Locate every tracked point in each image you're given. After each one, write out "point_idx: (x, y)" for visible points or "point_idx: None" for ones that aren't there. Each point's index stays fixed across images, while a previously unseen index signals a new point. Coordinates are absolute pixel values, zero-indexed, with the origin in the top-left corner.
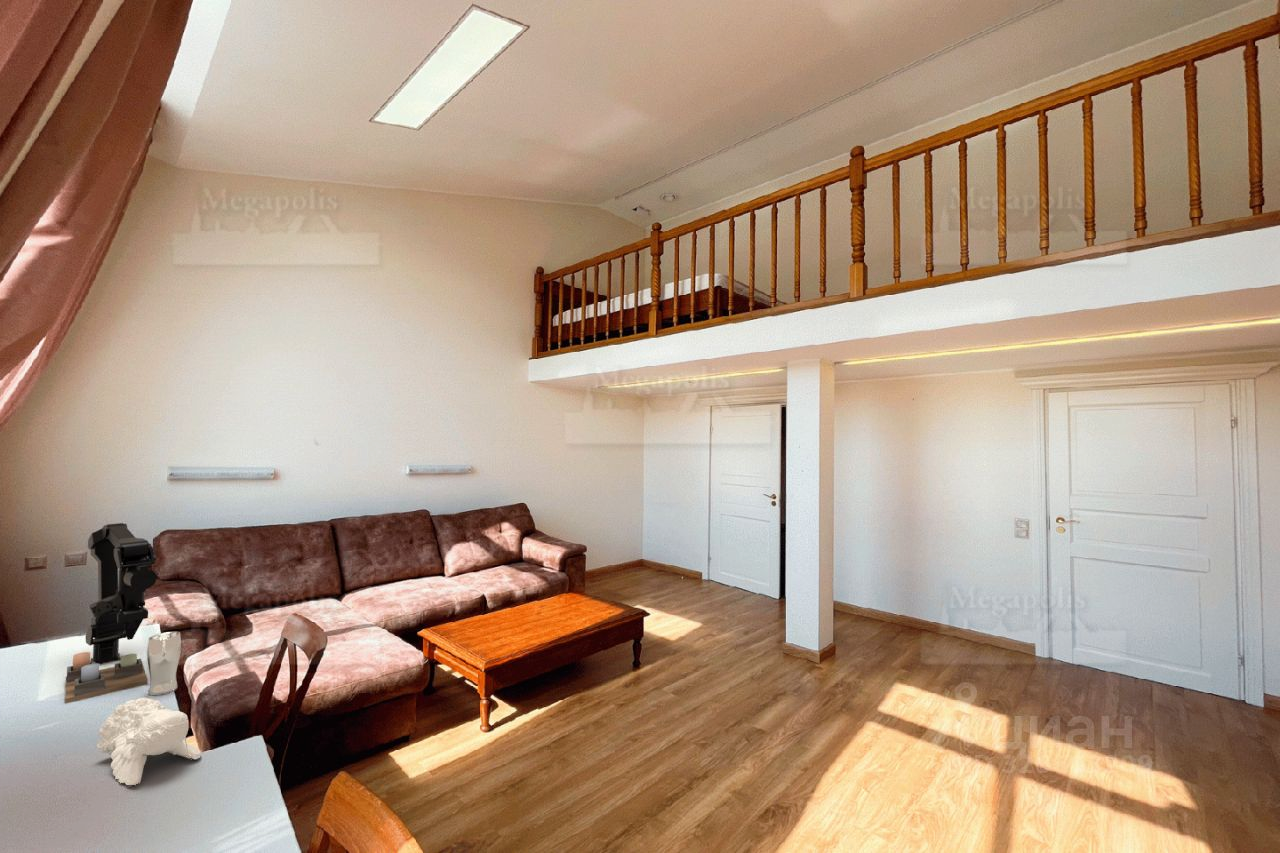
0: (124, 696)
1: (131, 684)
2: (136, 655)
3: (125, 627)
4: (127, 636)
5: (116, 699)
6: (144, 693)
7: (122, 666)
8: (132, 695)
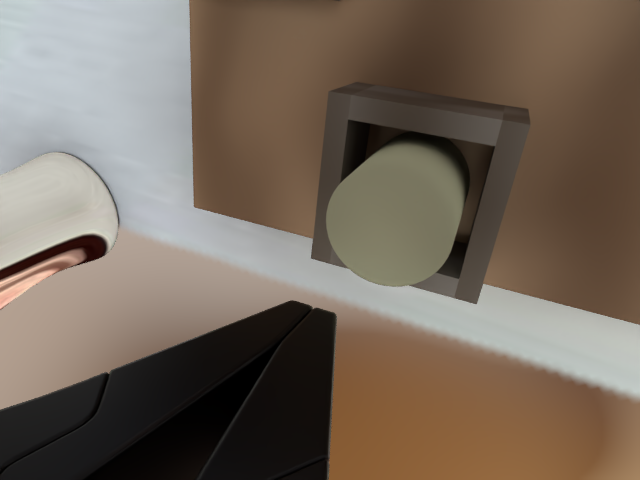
0: (104, 68)
1: (194, 130)
2: (355, 270)
3: (33, 408)
4: (249, 323)
5: (85, 28)
6: (89, 146)
7: (379, 150)
8: (95, 100)
